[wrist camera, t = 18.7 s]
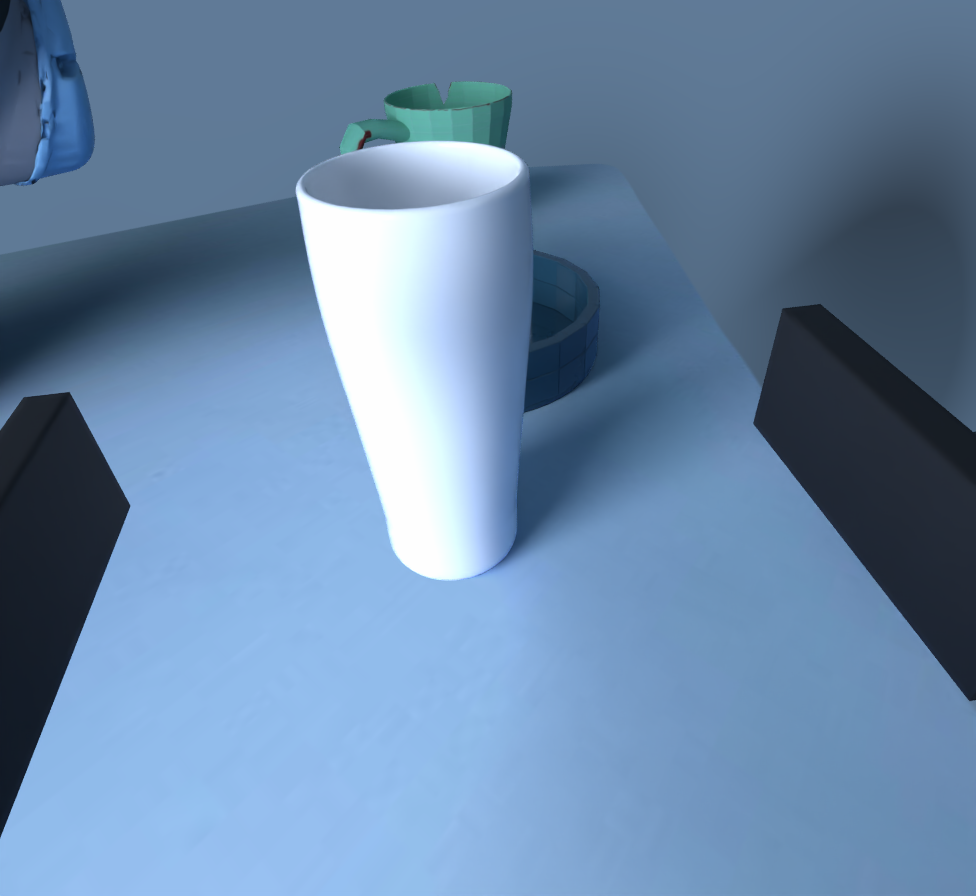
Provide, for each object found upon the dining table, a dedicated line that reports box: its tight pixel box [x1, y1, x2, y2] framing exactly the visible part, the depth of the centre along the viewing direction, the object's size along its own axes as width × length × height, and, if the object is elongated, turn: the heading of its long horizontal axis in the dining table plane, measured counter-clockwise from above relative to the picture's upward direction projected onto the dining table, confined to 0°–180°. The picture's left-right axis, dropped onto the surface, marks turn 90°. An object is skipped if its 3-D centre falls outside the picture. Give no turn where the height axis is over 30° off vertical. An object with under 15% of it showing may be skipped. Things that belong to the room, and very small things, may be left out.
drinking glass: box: [296, 141, 533, 580], centre depth 23 cm, size 7×7×15 cm
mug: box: [339, 82, 512, 155], centre depth 53 cm, size 15×10×10 cm
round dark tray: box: [524, 250, 600, 412], centre depth 39 cm, size 14×14×4 cm
